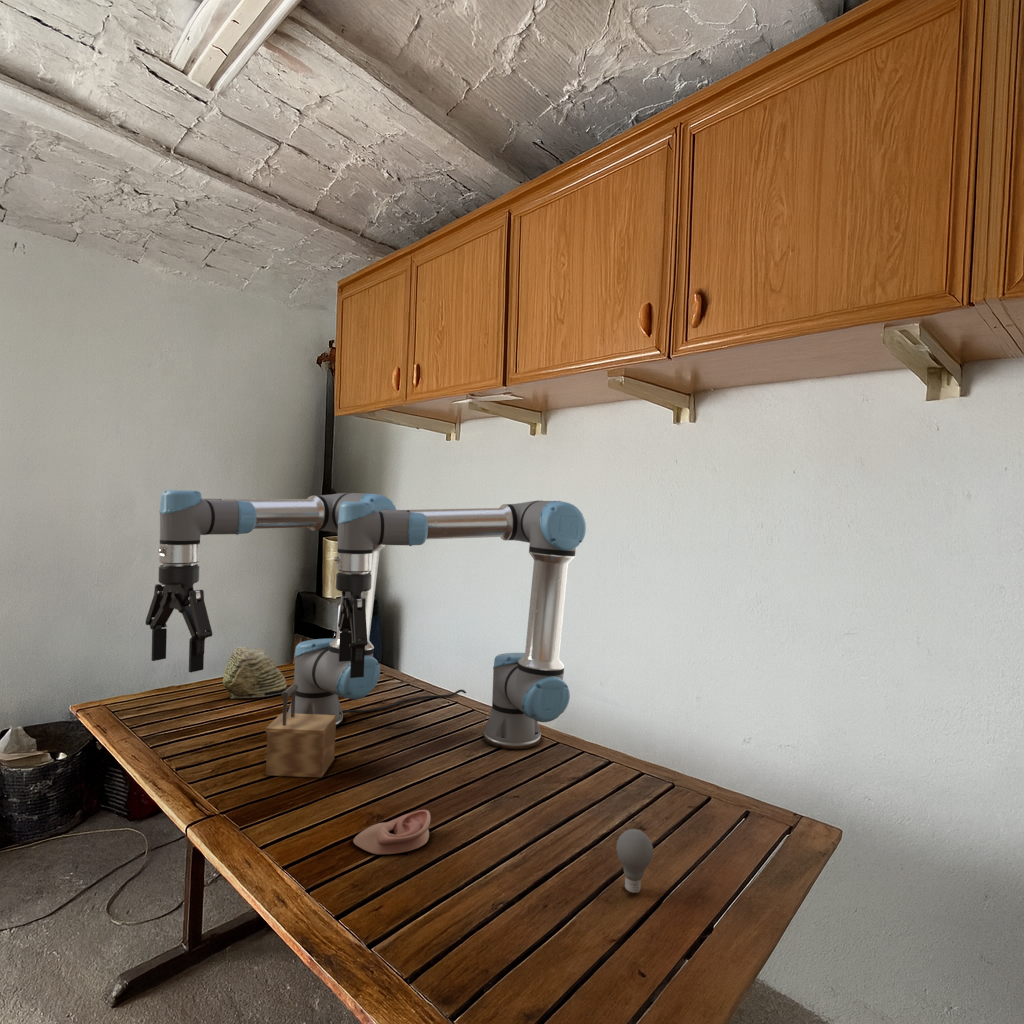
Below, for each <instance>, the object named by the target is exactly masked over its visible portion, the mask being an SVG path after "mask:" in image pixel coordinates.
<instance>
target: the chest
mask: <svg viewBox="0 0 1024 1024" xmlns="http://www.w3.org/2000/svg"><path fill="white" fill-rule="evenodd" d="M336 728H337V727H336V719H335V721H334V722H333V723H332V724H331V726H330V727H329V728H328V729H327V731H326V732H325V733H324V734H323V735H322V734H299V733H275V732H266V733H267V735H266V760H265V761H266V762H265V763H266V764H265V776H275V777H297V778H298V777H300V778H323V776H324V775H325V774H326V772H327V771H328V769H329V768H330V767H331V766H332V763H333V762H334V761H335V753H336V752H335V751H336V730H337V729H336Z"/></svg>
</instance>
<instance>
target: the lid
mask: <svg viewBox="0 0 1024 1024" xmlns="http://www.w3.org/2000/svg"><path fill="white" fill-rule="evenodd" d="M297 689H298V686H297V685H296V684H294V683H292V684H291V685H290V686H289V687H287V688H286V690H285V691H284V692H283V693H280V696H281V699H283V702H282V704H283V705H282V712H281V713H280V714H279V715H278V716H277V717H275V719H273V720H272V721H271V723H269V725H267V726H266V727H265V733H268V732H275V733H299V734H322V735H323V734H324V733H325V732H326V731H327V729H328V728H329V727H330V726H331V724H332V723H333V722H334V721H335V719H336V715H319V714H295V693H296V690H297ZM289 697H291V701H290V704H291V713H288V699H289Z"/></svg>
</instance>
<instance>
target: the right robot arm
mask: <svg viewBox="0 0 1024 1024" xmlns="http://www.w3.org/2000/svg"><path fill="white" fill-rule="evenodd" d="M586 533H587V523H586V519H585V517H584V515H583V513H582V512H581V510H580V509H579V508H578V507H577V506H576V505H574V504H572V503H570V502H567V501H563V500H530V501H525V502H518V503H517V502H516V503H505V504H501V505H500V507H495V508H494V507H493V508H492V507H491V508H490V507H489V508H488V507H485V508H482V507H481V508H435V509H434V508H433V509H427V508H425V509H396V510H388V509H383V510H379V511H375V509H374V504H373V503H371V502H348V501H346V502H343V503H341V505H340V508H339V518H338V533H337V551H336V552H337V553H336V554H337V555H336V556H334V559H333V560H334V562H336V570H337V571H338V572H337V573H336V575H335V589H336V590H337V591H338V592H341V595H342V600H341V599H340V603H341V607H340V606H339V611H340V615H339V614H338V619H339V622H338V621H337V627H339V630H340V632H342V633H340V639H339V662H343V661H351V665H350V678H358V677H364V657H365V645H368V641H367V626H366V610H365V606H366V600H365V598H362V595H361V593H362V592H363V591H369V590H370V589H371V580H372V575H371V573H369V571H371V570H372V559H373V553H372V551H373V545H386V546H409V547H412V546H421V545H424V544H425V543H426V542H427V541H426V540H447V539H449V540H450V539H477V538H478V539H479V538H480V539H483V538H500V539H501V540H502V541H517V542H523V543H529V546H528V554H529V556H530V557H532V559H533V569H532V579H531V586H530V588H531V590H530V599H529V608H528V620H527V628H526V629H527V630H526V638H525V639H526V640H525V650H524V652H504V653H501V654H500V653H499V654H497V655H496V656H495V657H494V659H493V666H492V670H493V672H492V673H493V674H492V698H491V699H492V700H491V701H492V702H491V711H490V713H489V716H488V719H487V714H485V716H484V718H483V722H486V719H487V722H486V724H485V727H484V730H483V739H484V741H485V742H486V743H488V744H489V745H490V746H493V747H496V748H500V749H504V750H505V749H506V750H524V749H531V748H533V747H536V746H537V745H539V744H540V743H541V739H542V738H541V737H542V735H541V734H542V733H541V729H540V725H539V723H549V722H552V721H555V720H557V719H558V718H559V717H560V716H561V715H562V714H563V713H564V712H565V711H566V709H567V708H568V705H569V702H570V698H571V691H570V688H569V686H568V684H567V682H566V681H565V680H564V674H565V673H564V672H565V664H564V663H563V661H561V659H560V653H561V640H562V631H563V620H564V610H565V601H566V590H567V580H568V579H567V578H568V569H569V564H570V562H571V561H573V560H574V559H575V558H576V550H577V547H579V546H580V544H581V543H583V541H584V539H585V537H586ZM349 631H351V632H349Z"/></svg>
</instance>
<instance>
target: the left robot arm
mask: <svg viewBox="0 0 1024 1024" xmlns="http://www.w3.org/2000/svg"><path fill="white" fill-rule="evenodd" d="M346 501H348V502H371V503H373V504H374V509H375V511H379V510H383V509H388V510H397V506H396V505H395V504H394V503H393V501H392V499H390V498H389V497H387V496H385V495H383V494H377V493H374V492H372V493H371V492H368V493H367V492H366V493H365V492H339V493H332V494H322V495H321V494H320V495H309V496H308V497H307V498H203V497H202V493H201V492H200V491H199V490H183V489H167V490H164V491H163V492H162V493H161V496H160V502H159V503H160V505H159V511H158V513H159V549H158V555H159V556H158V562H159V563H160V564H161V565H159V566H158V580H157V581H158V583H156V584H155V585H154V591H153V592H154V593H153V597H152V600H151V602H150V606H149V609H148V612H147V615H146V618H145V625H146V626H149V628H150V630H151V661H152V662H156V661H161V660H165V659H167V638H168V637H167V636H168V635H167V633H168V628H167V627H168V626H167V623H168V620H169V619H170V617H171V615H172V614H173V612H174V610H177V611H178V613H180V614H181V615H182V617H183V619H184V622H185V624H186V627H187V629H188V631H189V634H190V636H191V637H190V638H189V641H188V643H189V646H188V673H195V672H200V671H204V665H205V664H204V663H205V661H204V660H205V643H206V639H207V638H212V637H213V630H212V625H211V621H210V618H209V614H208V610H207V606H206V602H205V593H204V592H205V591H204V589H194V584H197V583H198V582H199V581H200V565H199V564H197V563H199V562H200V560H201V536H207V535H209V536H210V535H211V536H212V535H236V536H239V535H244V534H249V533H252V532H253V530H257V529H291V528H292V529H295V528H307V529H309V530H310V531H313V532H314V531H321V532H331V533H336V534H338V518H339V508H340V505H341V503H343V502H346ZM386 546H387V545H373V551H372V553H373V559H372V570H371V571H369V573H371V575H372V580H371V589H370V590H369V591H363V592H362V593H361V595H362V598H365V600H366V606H365V610H366V626H367V641H368V645H365V657H364V677H358V678H350V665H351V661H343V662H339V639H340V633H342V632H340V630H339V627H338V626H337V627H336V634H335V635H336V636H335V638H317V639H308V640H304V641H300V642H299V643H298V644H297V645H296V646H295V650H294V655H293V657H294V672H293V673H294V674H293V684H296V685H297V686H298V689H297V690H296V693H295V714H319V715H336V728H337V727H339V726H340V725H342V723H343V722H344V714H353V713H355V714H357V713H358V714H362V713H363V714H364V713H369V712H370V713H371V712H377V711H381V710H384V709H389V708H392V707H395V706H397V705H401V704H404V703H407V702H411V701H417V700H425V699H434V698H437V699H438V698H448V697H453V696H455V695H458V694H459V693H463V694H467V691H466V690H465V689H458V690H456V691H455V692H452V693H447V694H435V695H423V696H416V697H410V698H406V699H402V700H399V701H396V702H394V703H390V704H388V705H384V706H380V707H374V708H369V709H342V706H341V702H340V699H339V697H340V698H343V699H348V700H353V701H354V700H356V701H357V700H360V699H363V698H365V697H367V696H368V695H369V694H370V693H371V691H373V690H374V689H375V687H376V686H377V684H378V682H379V679H380V676H381V667H380V664H379V662H378V660H377V659H376V658H375V657H374V649H375V646H374V645H373V644H372V642H371V641H370V635H371V626H372V620H373V619H372V618H373V611H374V603H375V602H374V601H375V595H376V594H375V593H376V587H377V578H378V568H379V561H380V552H381V550H383V549H384V548H386ZM341 600H342V594H341V595H340V601H341ZM340 607H341V602H340V603H339V608H340ZM339 615H340V610H339V611H338V616H339ZM338 622H339V618H338V620H337V623H338ZM349 632H351V631H349ZM287 713H291V703H290V704H289V708H288V709H287Z"/></svg>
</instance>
